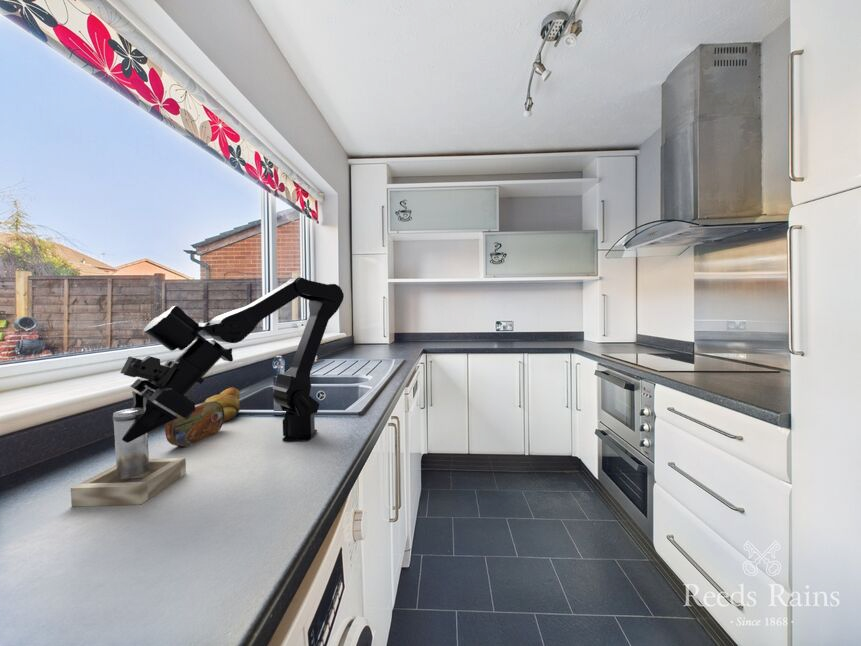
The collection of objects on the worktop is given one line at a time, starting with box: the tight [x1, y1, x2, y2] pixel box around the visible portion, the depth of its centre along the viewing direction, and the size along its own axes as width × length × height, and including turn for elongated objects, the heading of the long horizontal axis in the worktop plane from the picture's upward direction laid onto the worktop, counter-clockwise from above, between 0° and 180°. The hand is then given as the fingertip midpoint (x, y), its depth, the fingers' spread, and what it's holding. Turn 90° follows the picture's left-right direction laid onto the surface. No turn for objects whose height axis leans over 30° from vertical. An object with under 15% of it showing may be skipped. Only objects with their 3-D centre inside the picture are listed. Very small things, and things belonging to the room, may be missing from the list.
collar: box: [70, 457, 187, 507], centre depth 63 cm, size 11×11×3 cm
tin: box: [164, 401, 224, 447], centre depth 87 cm, size 15×3×8 cm, turn 168°
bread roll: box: [204, 386, 241, 422], centre depth 104 cm, size 13×10×8 cm
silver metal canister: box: [112, 407, 150, 479], centre depth 63 cm, size 5×5×11 cm
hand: (121, 438), depth 62 cm, fingers closed on silver metal canister, 4 cm apart
